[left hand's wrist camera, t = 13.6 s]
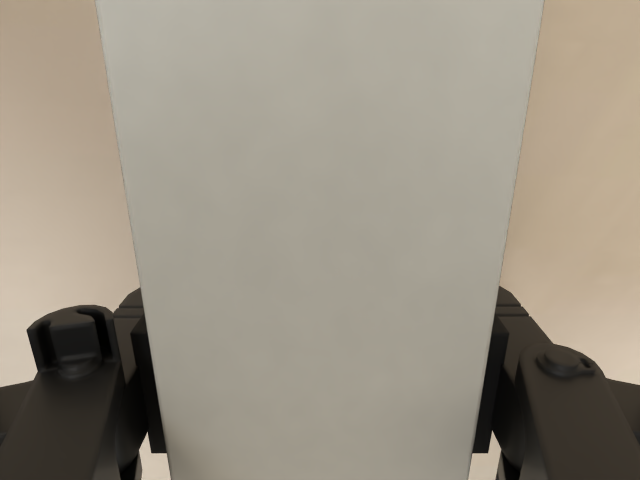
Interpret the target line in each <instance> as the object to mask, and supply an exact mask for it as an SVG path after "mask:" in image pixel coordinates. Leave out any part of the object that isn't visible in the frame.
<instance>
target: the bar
mask: <svg viewBox="0 0 640 480" xmlns="http://www.w3.org/2000/svg"><path fill="white" fill-rule="evenodd" d="M95 4H96V10H97V16H98V23H99V29H100V35H101V42H102V48H103V54H104V61H105V67H106V73H107V79H108V86H109V92H110V98H111V105H112V111H113V117H114V123H115V130H116V136H117V142H118V149H119V155H120V161H121V168H122V174H123V180H124V186H125V193H126V199H127V205H128V212H129V218H130V224H131V230H132V237H133V243H134V249H135V256H136V262H137V268H138V275H139V281H140V287H141V293H142V300H143V306H144V312H145V319H146V325H147V331H148V337H149V344H150V350H151V356H152V363H153V369H154V375H155V382H156V388H157V394H158V400H159V407H160V413H161V419H162V426H163V432H164V438H165V445H166V451H167V457H168V463H169V470H170V476H171V480H468V476H469V470H470V464H471V458H472V451H473V445H474V439H475V432H476V426H477V420H478V414H479V407H480V401H481V395H482V389H483V382H484V376H485V370H486V364H487V357H488V351H489V345H490V339H491V332H492V326H493V320H494V314H495V307H496V301H497V295H498V288H499V282H500V276H501V270H502V263H503V257H504V251H505V245H506V238H507V232H508V226H509V220H510V213H511V207H512V201H513V195H514V188H515V182H516V176H517V169H518V163H519V157H520V151H521V144H522V138H523V132H524V126H525V119H526V113H527V107H528V101H529V94H530V88H531V82H532V76H533V69H534V63H535V57H536V51H537V44H538V38H539V32H540V25H541V19H542V13H543V7H544V0H95Z"/></svg>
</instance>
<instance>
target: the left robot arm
mask: <svg viewBox="0 0 640 480" xmlns="http://www.w3.org/2000/svg"><path fill="white" fill-rule="evenodd" d="M27 334H28V337H29V341H30V345H31V348H32V352H33V355H34V359H35V363H36V366H37V370H38V372H37V374H36V376H35V378H34V380H33V381H29V382H25V383H20V384H15V385H9V386H4V387H0V480H141V476H142V465H141V459H140V454H139V449H140V446H141V444H142V442H143V440H144V438H145V436H146V434H147V431H148V436H149V442H150V448H151V453H167V451H166V445H165V438H164V432H163V426H162V419H161V413H160V407H159V400H158V394H157V388H156V382H155V375H154V369H153V363H152V356H151V350H150V344H149V337H148V331H147V325H146V319H145V312H144V306H143V300H142V293H141V287H140V288H138V289H137V290H135V291H133V292H132V293H130V294H129V295H128V296H127V297H126V298H125V299H124V301H123V302H122V303H121V304H120V305H119V308H117V309H116V310H115V312H114V313H112V312H111V311H110V310H109V309H107V308H106V307H102V306H97V305H79V306H74V307H68V308H63V309H61V310H58V311H55V312H52V313H49V314H47V315H45V316H44V317H42V318H40V319H38V320H37V321H35V322H34V323H33V324H32V325H31V326H30V327H29V328H28V329H27ZM492 430H493V432H494V434H495V437H496V439H497V441H498V443H499V445H500V447H501V454H500V459H499V464H498V469H497V474H496V480H640V385H636V384H631V383H626V382H621V381H615V380H611V379H608V378H606V377H605V375H604V373H603V371H602V370H601V369H600V368H599V366H598V365H597V364H596V363H595V362H594V361H593V360H591V359H590V358H588V357H587V356H586V355H584V354H583V353H580V352H578V351H576V350H573V349H571V348H568V347H565V346H560V345H556V344H553V343H552V342H551V340H550V339H549V338H548V337H547V336H546V334H545V333H544V332H543V331H542V330H541V328H540V327H539V326H538V325H537V323H536V322H535V321H534V320H533V319H532V317H529V314H528V313H527V311H526V310H525V309H524V308H523V307H521V304H520V303H519V302H518V300H517V299H516V298H515V297H514V296H513V294H512V293H511V292H509V291H507V290H506V289H504V288H502V287H501V286H499V288H498V295H497V301H496V307H495V314H494V320H493V326H492V332H491V339H490V345H489V351H488V357H487V364H486V370H485V376H484V382H483V389H482V395H481V401H480V407H479V414H478V420H477V426H476V432H475V439H474V445H473V451H472V453H488V450H489V445H490V439H491V434H492Z"/></svg>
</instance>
